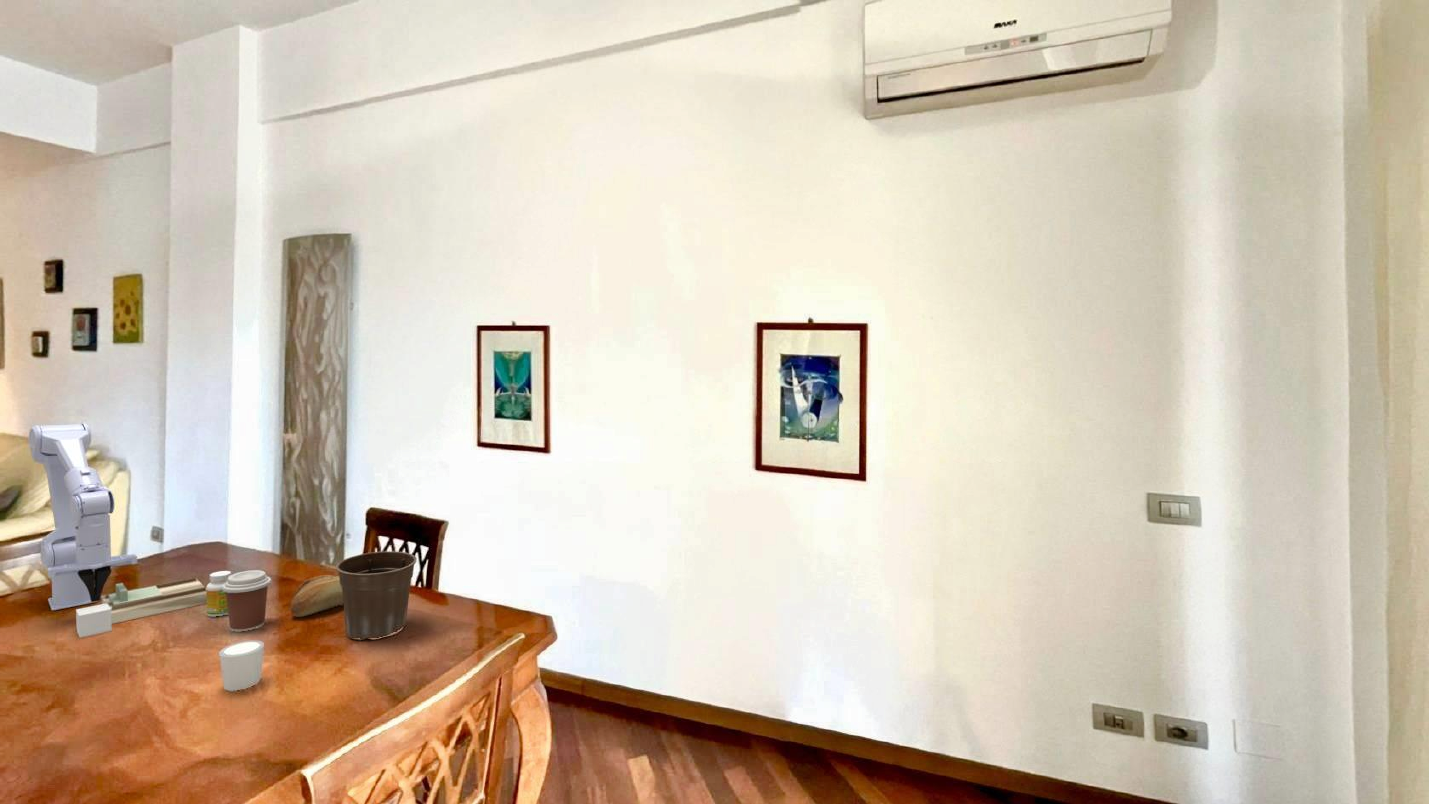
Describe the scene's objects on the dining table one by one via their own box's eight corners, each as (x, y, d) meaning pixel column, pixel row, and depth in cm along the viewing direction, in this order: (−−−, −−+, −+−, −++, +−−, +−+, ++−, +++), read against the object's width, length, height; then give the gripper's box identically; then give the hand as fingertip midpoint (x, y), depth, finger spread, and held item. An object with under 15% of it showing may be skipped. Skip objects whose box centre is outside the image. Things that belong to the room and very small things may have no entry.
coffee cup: (232, 638, 137) (231, 585, 136) (215, 627, 142) (214, 576, 141) (279, 624, 145) (278, 573, 144) (261, 614, 150) (260, 565, 149)
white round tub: (235, 674, 122) (235, 639, 122) (272, 674, 123) (272, 639, 122) (210, 693, 115) (209, 656, 115) (249, 692, 116) (249, 656, 115)
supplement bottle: (219, 618, 147) (218, 578, 146) (200, 616, 148) (200, 576, 147) (240, 609, 152) (240, 570, 151) (222, 607, 153) (222, 568, 152)
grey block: (76, 631, 138) (76, 609, 138) (107, 624, 142) (107, 603, 142) (79, 638, 135) (79, 615, 135) (111, 631, 139) (111, 609, 138)
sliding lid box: (101, 606, 151) (100, 592, 151) (195, 587, 165) (195, 574, 165) (111, 624, 142) (111, 609, 142) (210, 602, 156) (210, 589, 156)
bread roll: (278, 616, 149) (278, 584, 149) (337, 595, 163) (337, 566, 162) (305, 624, 146) (305, 591, 145) (363, 602, 159) (363, 571, 159)
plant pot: (431, 624, 147) (432, 557, 146) (368, 652, 133) (368, 578, 132) (385, 611, 154) (385, 547, 153) (320, 635, 140) (319, 565, 139)
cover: (108, 598, 150) (108, 584, 150) (155, 588, 157) (155, 576, 156) (114, 607, 145) (114, 593, 144) (162, 597, 151) (162, 584, 151)
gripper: (49, 553, 136) (51, 614, 137) (138, 540, 147) (140, 596, 148) (46, 546, 140) (48, 605, 141) (133, 534, 152) (134, 588, 153)
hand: (95, 600), depth 145 cm, fingers closed
